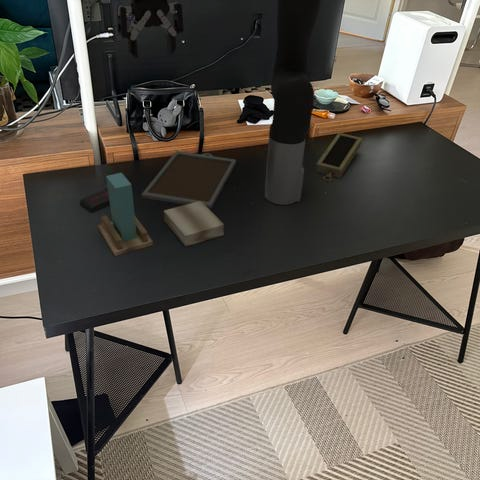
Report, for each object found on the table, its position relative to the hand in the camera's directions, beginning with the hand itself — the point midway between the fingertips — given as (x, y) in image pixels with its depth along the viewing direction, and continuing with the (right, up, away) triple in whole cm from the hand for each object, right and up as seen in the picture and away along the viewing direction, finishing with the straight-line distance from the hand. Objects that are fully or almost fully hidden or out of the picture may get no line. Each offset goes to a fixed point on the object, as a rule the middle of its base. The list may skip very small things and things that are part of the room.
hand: (153, 55), depth 108 cm
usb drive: (-15, -32, +18) cm, 40 cm away
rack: (-7, -41, +5) cm, 42 cm away
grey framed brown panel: (+6, -24, +30) cm, 39 cm away
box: (+49, -19, +39) cm, 65 cm away
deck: (+8, -38, +9) cm, 40 cm away
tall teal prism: (-7, -40, +4) cm, 41 cm away
